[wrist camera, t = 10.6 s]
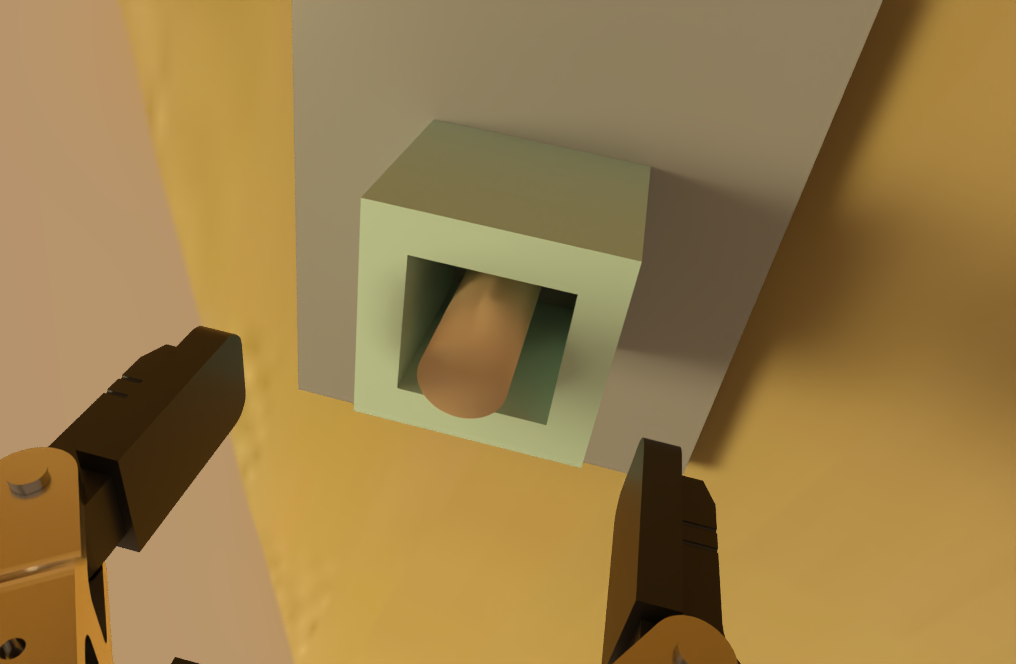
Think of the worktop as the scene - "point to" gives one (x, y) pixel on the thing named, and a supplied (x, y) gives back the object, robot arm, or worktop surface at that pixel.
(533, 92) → the board
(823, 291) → the worktop surface
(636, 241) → the collar
